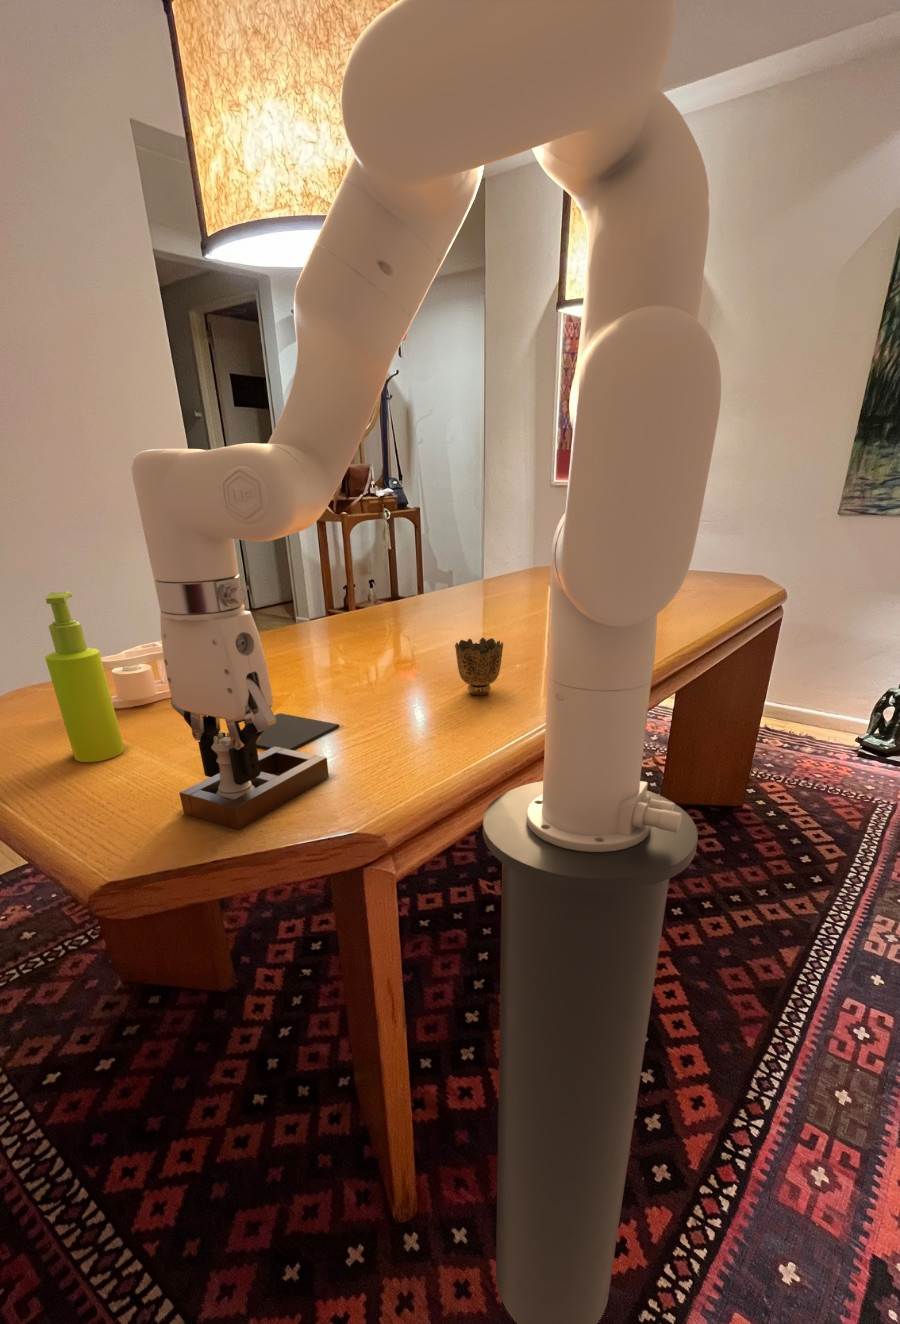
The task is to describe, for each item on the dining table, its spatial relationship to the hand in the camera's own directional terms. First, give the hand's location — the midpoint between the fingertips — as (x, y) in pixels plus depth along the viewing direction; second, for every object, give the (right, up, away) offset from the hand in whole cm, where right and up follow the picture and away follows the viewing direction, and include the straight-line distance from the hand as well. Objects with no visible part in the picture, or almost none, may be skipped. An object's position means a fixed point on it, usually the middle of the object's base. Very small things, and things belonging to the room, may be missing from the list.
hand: (232, 774), depth 71 cm
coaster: (0, +6, +22) cm, 22 cm away
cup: (+28, +14, +36) cm, 48 cm away
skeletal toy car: (-23, +15, +40) cm, 48 cm away
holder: (+2, -2, +4) cm, 5 cm away
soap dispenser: (-23, +3, +17) cm, 28 cm away
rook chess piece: (0, -4, +2) cm, 4 cm away
